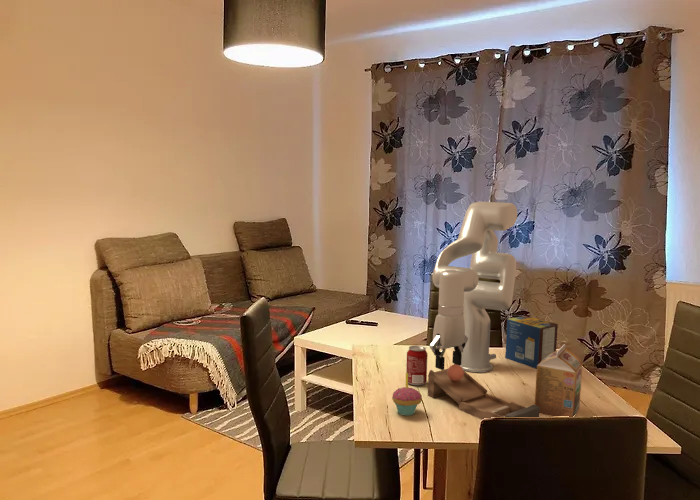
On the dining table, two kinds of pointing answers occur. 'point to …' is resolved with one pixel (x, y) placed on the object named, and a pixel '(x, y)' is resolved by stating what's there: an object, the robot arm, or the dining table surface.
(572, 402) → the milk carton
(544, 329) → the protein box
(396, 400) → the cupcake
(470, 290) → the robot arm
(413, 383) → the soda can
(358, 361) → the dining table surface
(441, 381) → the lane
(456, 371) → the ball
